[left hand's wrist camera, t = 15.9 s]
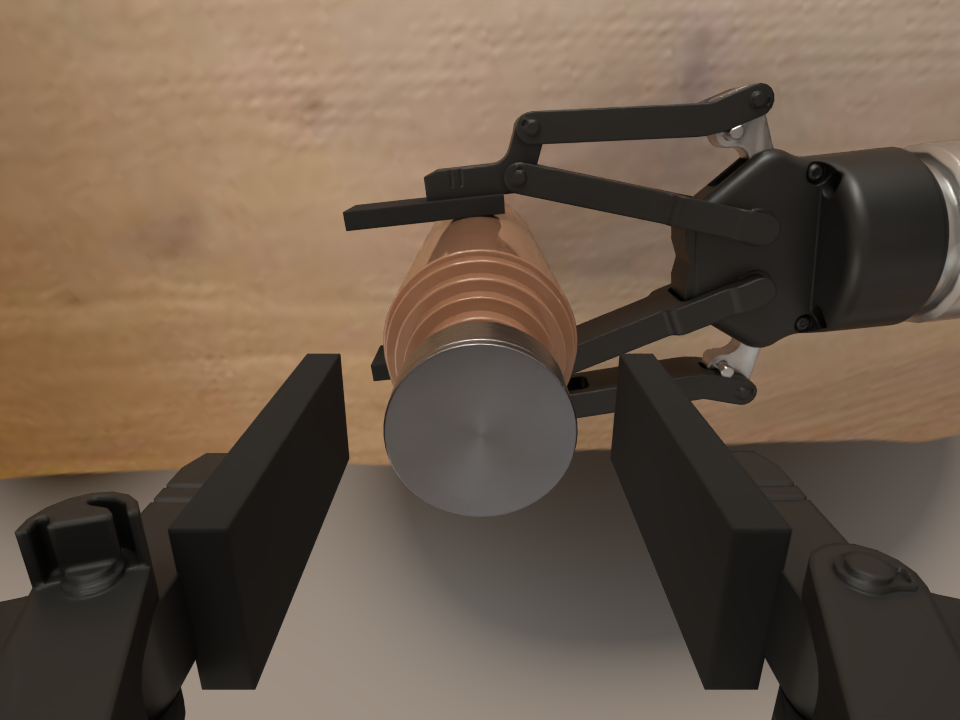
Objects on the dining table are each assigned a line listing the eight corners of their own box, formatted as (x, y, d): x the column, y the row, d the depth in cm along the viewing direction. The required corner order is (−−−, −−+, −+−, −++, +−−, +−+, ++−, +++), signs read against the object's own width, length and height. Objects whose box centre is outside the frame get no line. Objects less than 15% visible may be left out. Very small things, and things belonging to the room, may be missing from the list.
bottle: (556, 255, 33) (669, 428, 13) (478, 326, 34) (477, 578, 15) (481, 173, 31) (484, 234, 12) (403, 252, 33) (291, 422, 13)
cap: (444, 287, 13) (440, 307, 12) (601, 372, 14) (615, 401, 12) (364, 433, 15) (351, 468, 13) (511, 504, 15) (515, 545, 14)
